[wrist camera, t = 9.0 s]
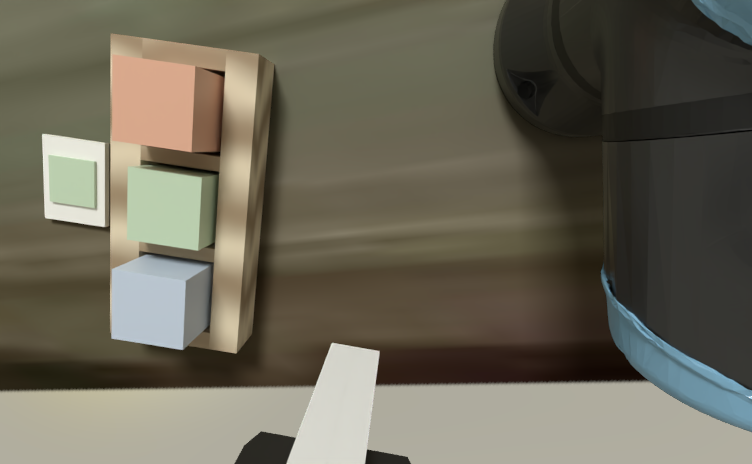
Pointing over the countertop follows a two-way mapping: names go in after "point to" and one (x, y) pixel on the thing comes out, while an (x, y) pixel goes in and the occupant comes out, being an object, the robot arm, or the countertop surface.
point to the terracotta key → (166, 105)
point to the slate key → (161, 300)
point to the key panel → (235, 191)
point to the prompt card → (76, 180)
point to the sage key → (172, 205)
